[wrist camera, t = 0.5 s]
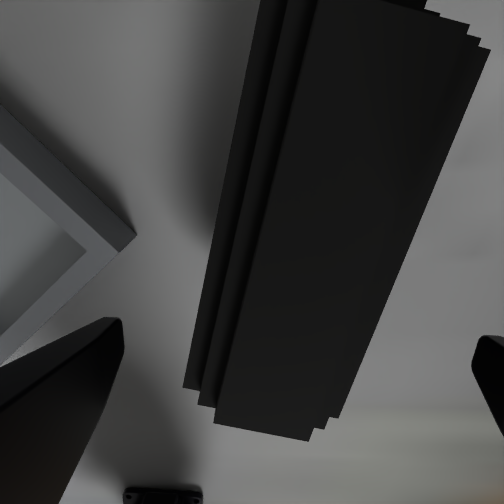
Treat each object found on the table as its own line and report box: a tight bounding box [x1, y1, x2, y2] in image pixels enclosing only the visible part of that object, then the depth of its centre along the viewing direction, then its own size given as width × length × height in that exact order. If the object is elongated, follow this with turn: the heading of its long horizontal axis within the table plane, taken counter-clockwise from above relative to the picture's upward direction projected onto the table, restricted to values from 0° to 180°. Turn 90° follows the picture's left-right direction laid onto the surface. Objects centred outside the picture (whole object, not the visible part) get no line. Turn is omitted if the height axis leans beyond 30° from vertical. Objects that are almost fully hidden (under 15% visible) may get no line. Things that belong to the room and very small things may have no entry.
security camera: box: [183, 0, 491, 442], centre depth 17 cm, size 7×18×10 cm, turn 167°
